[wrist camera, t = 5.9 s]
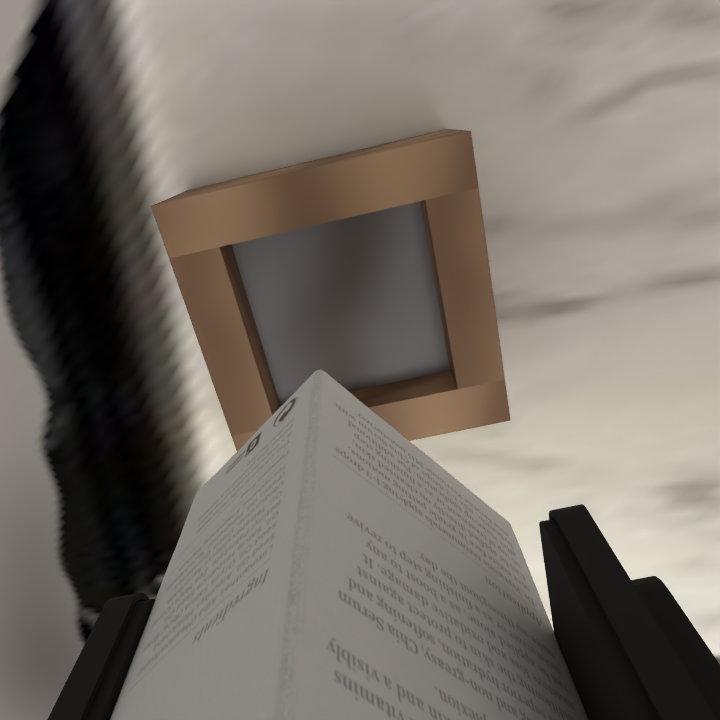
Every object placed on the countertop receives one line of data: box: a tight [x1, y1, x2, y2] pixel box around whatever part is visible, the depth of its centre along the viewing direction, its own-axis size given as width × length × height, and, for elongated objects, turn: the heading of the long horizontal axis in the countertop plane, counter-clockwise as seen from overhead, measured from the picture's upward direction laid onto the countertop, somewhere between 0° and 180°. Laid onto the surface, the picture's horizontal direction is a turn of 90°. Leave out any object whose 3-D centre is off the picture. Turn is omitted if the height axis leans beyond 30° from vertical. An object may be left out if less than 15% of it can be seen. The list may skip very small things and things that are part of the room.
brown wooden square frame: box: [151, 129, 510, 452], centre depth 26 cm, size 12×12×5 cm
